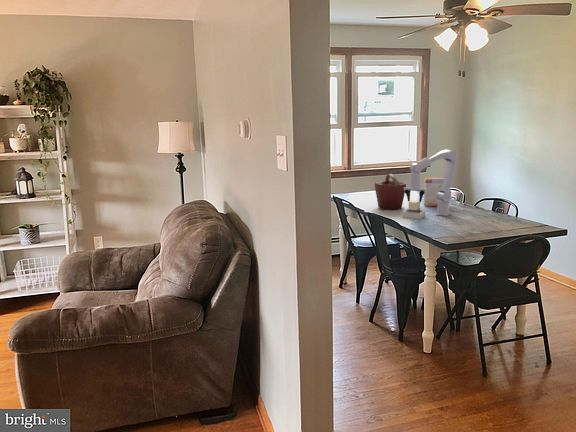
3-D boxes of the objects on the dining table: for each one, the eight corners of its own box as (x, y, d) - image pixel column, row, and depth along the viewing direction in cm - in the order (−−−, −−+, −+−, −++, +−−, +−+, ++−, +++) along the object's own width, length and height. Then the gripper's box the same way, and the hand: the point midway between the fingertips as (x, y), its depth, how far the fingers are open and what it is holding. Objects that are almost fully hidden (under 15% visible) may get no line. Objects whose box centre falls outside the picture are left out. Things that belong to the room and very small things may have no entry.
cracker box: (442, 204, 358) (443, 177, 353) (444, 206, 352) (445, 178, 347) (423, 204, 359) (424, 177, 354) (424, 206, 353) (425, 178, 349)
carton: (411, 207, 323) (412, 200, 322) (419, 207, 321) (420, 200, 320) (408, 209, 317) (408, 202, 316) (416, 210, 314) (416, 202, 313)
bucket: (405, 211, 337) (406, 176, 332) (374, 210, 342) (374, 176, 336) (404, 204, 361) (405, 172, 355) (374, 204, 365) (375, 172, 360)
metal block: (411, 214, 324) (411, 207, 323) (419, 215, 322) (420, 207, 321) (408, 216, 318) (408, 209, 317) (416, 217, 315) (416, 210, 314)
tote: (407, 214, 328) (407, 208, 327) (425, 215, 322) (425, 210, 321) (402, 217, 318) (402, 211, 317) (420, 219, 312) (420, 213, 311)
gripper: (402, 181, 315) (402, 201, 318) (424, 182, 308) (423, 203, 311) (405, 180, 321) (405, 200, 324) (427, 181, 314) (426, 201, 317)
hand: (414, 201), depth 318 cm, fingers open, 7 cm apart
